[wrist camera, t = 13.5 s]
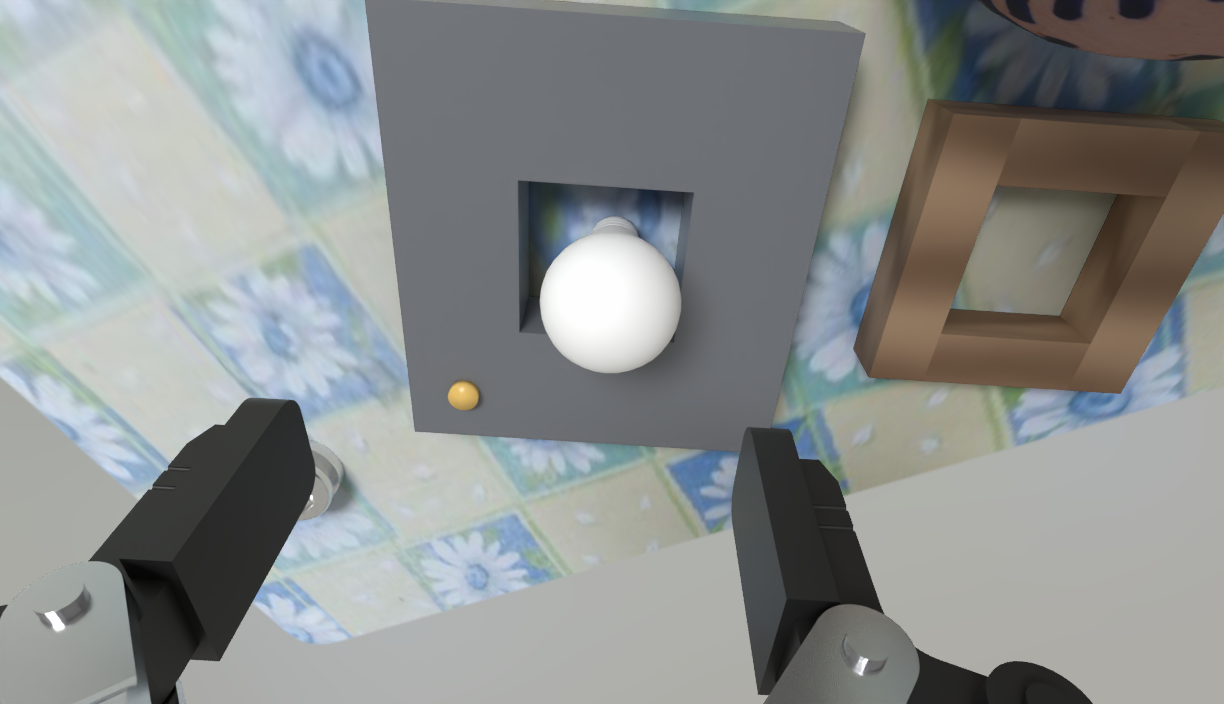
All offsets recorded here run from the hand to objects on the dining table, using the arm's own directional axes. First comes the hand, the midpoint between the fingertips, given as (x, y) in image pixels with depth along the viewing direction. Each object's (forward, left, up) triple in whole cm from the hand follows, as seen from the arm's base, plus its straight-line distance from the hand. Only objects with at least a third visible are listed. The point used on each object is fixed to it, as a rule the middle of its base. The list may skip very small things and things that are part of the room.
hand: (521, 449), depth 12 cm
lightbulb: (+6, +2, -25) cm, 25 cm away
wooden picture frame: (+5, +23, -25) cm, 34 cm away
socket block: (+6, +1, -25) cm, 25 cm away
